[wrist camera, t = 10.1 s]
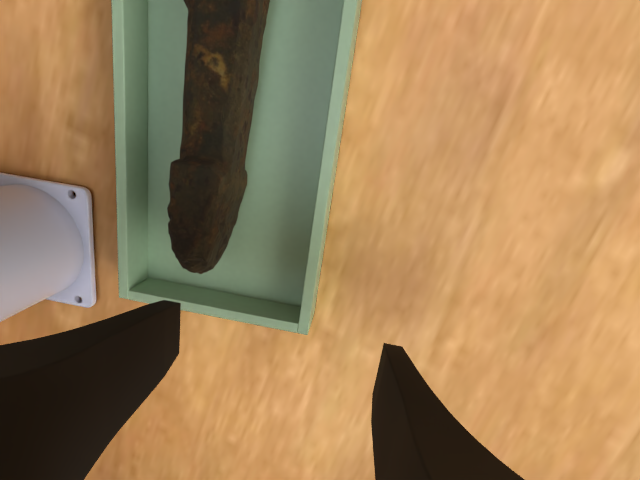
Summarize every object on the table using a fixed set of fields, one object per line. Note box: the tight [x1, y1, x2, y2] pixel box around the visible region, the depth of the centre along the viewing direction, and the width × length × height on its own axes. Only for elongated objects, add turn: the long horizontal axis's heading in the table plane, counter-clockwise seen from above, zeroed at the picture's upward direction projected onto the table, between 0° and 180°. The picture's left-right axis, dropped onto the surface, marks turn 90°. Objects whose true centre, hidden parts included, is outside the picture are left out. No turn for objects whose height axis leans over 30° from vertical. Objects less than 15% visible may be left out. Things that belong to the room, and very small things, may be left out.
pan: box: [111, 0, 362, 335], centre depth 18 cm, size 11×23×2 cm, turn 172°
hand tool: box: [167, 0, 270, 274], centre depth 17 cm, size 19×4×5 cm, turn 167°
